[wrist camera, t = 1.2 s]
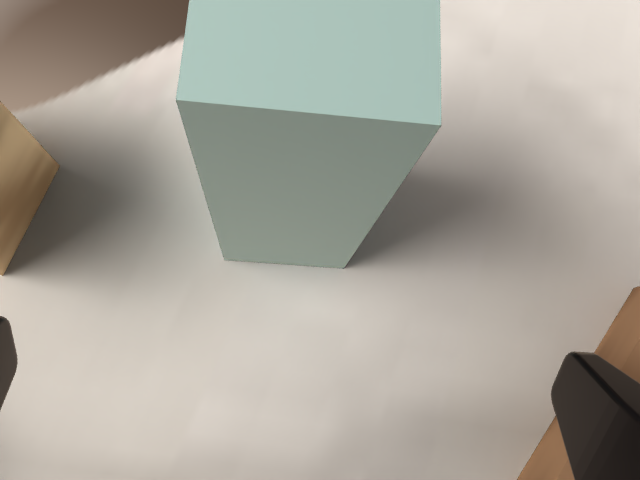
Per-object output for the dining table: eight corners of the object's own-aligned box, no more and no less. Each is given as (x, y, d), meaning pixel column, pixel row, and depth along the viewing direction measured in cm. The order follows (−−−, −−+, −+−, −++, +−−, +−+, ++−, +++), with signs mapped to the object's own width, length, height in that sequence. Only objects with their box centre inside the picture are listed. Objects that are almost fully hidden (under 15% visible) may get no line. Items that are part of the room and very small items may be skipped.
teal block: (343, 268, 23) (441, 125, 10) (224, 260, 22) (176, 99, 10) (347, 159, 24) (439, -84, 12) (235, 149, 24) (205, -115, 11)
